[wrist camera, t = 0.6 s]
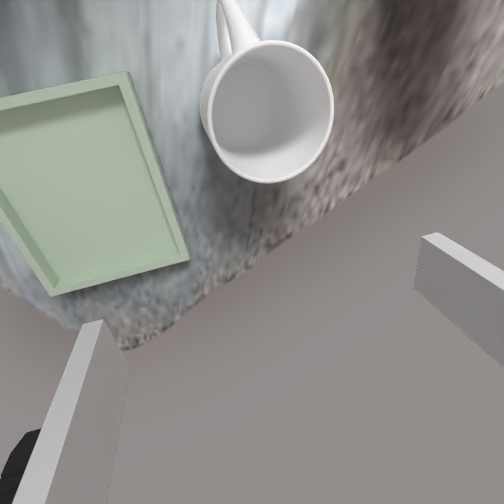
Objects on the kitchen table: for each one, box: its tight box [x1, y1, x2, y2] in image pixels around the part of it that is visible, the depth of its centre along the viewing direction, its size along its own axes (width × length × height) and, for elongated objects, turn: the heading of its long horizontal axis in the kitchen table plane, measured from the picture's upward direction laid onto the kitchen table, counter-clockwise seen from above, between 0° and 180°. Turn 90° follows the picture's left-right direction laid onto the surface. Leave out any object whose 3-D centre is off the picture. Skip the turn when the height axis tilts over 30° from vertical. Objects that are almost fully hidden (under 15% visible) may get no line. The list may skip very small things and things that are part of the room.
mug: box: [199, 0, 334, 183], centre depth 24 cm, size 9×12×11 cm
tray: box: [0, 71, 190, 297], centre depth 29 cm, size 18×15×2 cm
